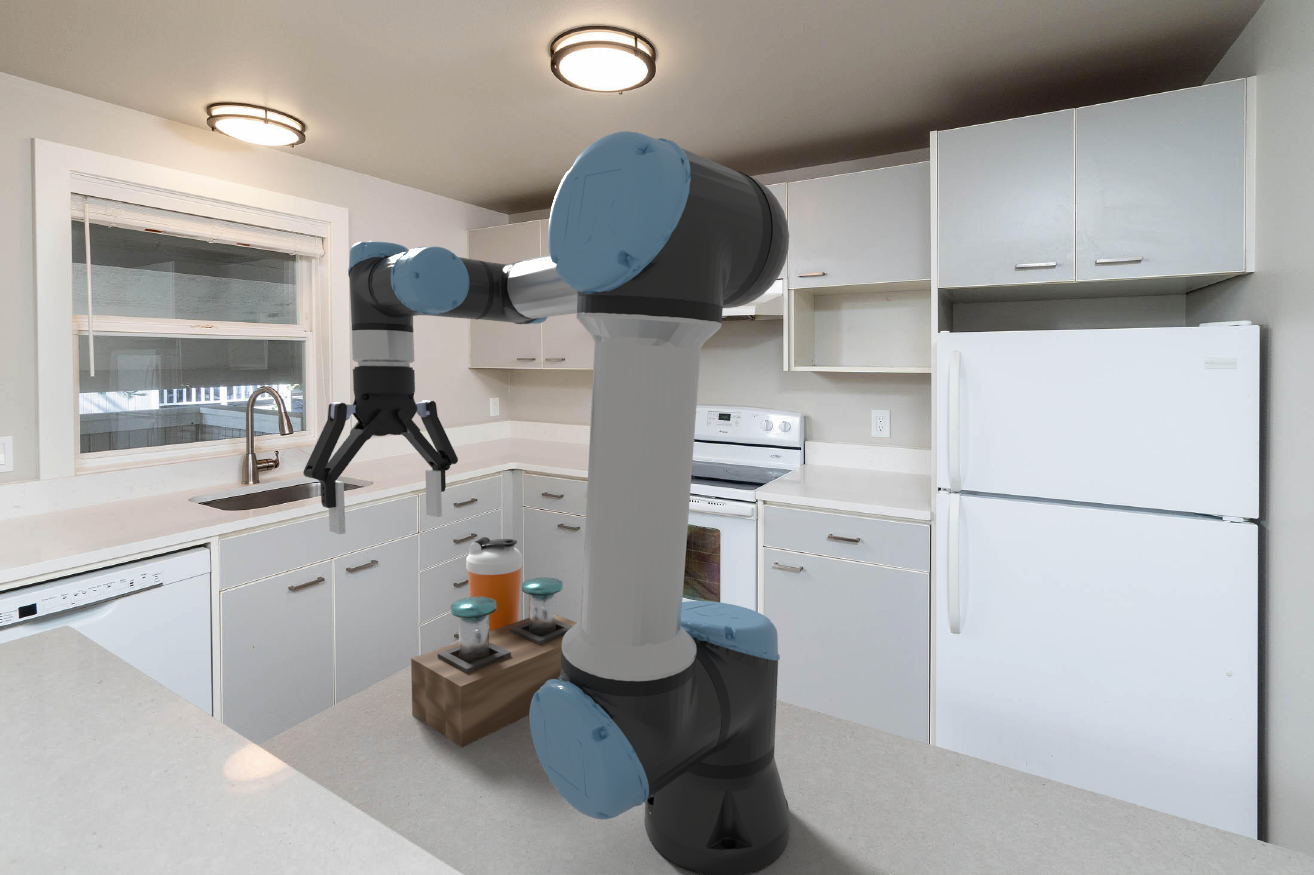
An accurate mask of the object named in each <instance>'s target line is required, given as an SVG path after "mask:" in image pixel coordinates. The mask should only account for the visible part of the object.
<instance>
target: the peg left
mask: <svg viewBox="0 0 1314 875" xmlns="http://www.w3.org/2000/svg"><path fill="white" fill-rule="evenodd" d="M495 611H496V601H495V600H494V599H492V598H488V597H465V598H460V599H458V600H455V601H454V602H452V603H451V604H450V614H451V615H452V616H454V617H457V618H458V642H459V659H461V660H463V661H465V662H467V663H469V664H470V663H473V662H475V661H478V660H481V659H483V658H486V657H488V656H489V614H491V613H493V612H495Z"/></svg>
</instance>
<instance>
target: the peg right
mask: <svg viewBox="0 0 1314 875" xmlns="http://www.w3.org/2000/svg"><path fill="white" fill-rule="evenodd" d="M562 590H563V581H562V580H561V579H559V578H555V577H549V576H548V577H546V576H545V577H534V578H528V579H527V580H524V581H523V582H522V584H521V591H522V592H523V593H524V594H526V595H528V618H529V632H530V633H532V634H535V635H537V636H539V637H541V636H544V635H547V634H549V633H552V632H554V631H556V615H557V614H556V613H557V601H556V599H557V594H558V593H560V592H562Z"/></svg>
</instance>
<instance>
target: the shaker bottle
mask: <svg viewBox="0 0 1314 875" xmlns="http://www.w3.org/2000/svg"><path fill="white" fill-rule="evenodd" d="M517 543H518V540H517V539H514V538H497V539H490V538H489V537H487V536H483V537H480V538H479V539H477V540H476V541H473V542H471V544H470V545H469V553H468V555H467V556H466V559H465V561H466V562H465V563H466V566H465V567H466V570H465V571H466V572H467V579H468V580H467V581H468V593H469V597H488V598H492V599H494V600H495V601H496V611H495V612H493V613H491V614H489V631H492V630H495V629H498V628H501V627H503V626H506V625H509V624H512V623H515V622H518V621H520V602H521V601H520V600H521V582H522V581H521V577H522V568H523V567H524V566H523V554H522V553H521V551H520V550H519V549H518V548H516V547H515V545H516V544H517ZM469 597H468V598H469Z"/></svg>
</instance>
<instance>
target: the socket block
mask: <svg viewBox="0 0 1314 875" xmlns="http://www.w3.org/2000/svg"><path fill="white" fill-rule="evenodd" d="M577 623H578V622H577V621H574V620H572V619H569V618H565V617H564V616H561V615H558V614H556V631H554V632H552V633H549V634H547V635H544V636H541V637H539V636H537V635H535V634H532V633H530V632H529V617H527V618H524V619H522V620H519V621H518V622H515V623H512V624H509V625H506V626H503V627H501V628H498V629H495V630H492V631H489V656H488V657H486V658H483V659H481V660H478V661H475V662H473V663H470V664H469V663H467V662H465V661H463V660H461V659H459V641H458V642H455V643H451V644H448V645H445V646H443V647H440V648H437V649H435V650H431V651H428V652H425V653H423V654H419V655H417V656H414V657H411V658H410V663H411V664H410V672H411V710H412V716H415V717H416V718H417V719H419V720H421V722H423V723H424V724H426V725H428V726H429V727H431V728H432V729H433V730H435V731H437V732H438V733H440V734H441V735H442V736H444V737H445V738H447V739H448V740H450V741H451V742H453V743H454V744H456V745H457V746H459V747H461V748H463V747H465V746H468V745H469V744H470V745H471V744H472V743H473V742H476V741H479V740H480V739H482V738H484V737H486V736H487V735H488V736H489V735H490V734H493V733H495V732H496V731H499V730H500V729H502V728H504V727H507V726H509V725H510V724H513V723H515V722H516V721H519V720H521V719H523V718H525V717H527V716H529V713H530V705H531V701H532V698H533V696H534V694H535V693H536V692H537V691H538V690H540V687H542V686H543V685H544V684H545V683H546V681H548V680H550V679H558V677H559V676H560V669H561V648H562V639H563V637H564V635H565V634H566V632H567V631H568V630H569V629H570V628H572V627H573V626H574V625H575V624H577Z"/></svg>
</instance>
